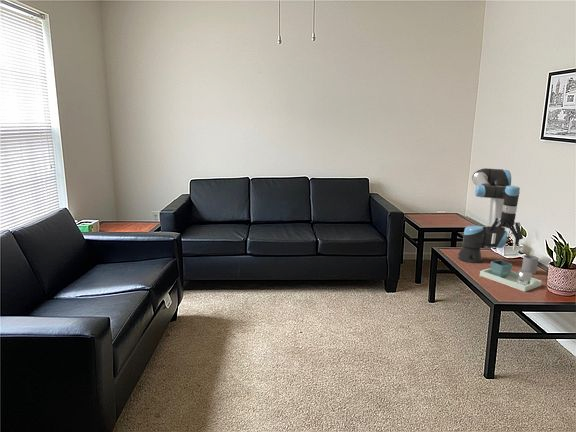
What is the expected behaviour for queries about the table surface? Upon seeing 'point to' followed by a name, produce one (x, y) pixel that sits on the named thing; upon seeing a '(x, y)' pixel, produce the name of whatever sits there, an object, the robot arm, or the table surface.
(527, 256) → the cup
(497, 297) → the table surface
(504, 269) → the flower pot
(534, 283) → the shallow serving tray
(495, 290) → the table surface
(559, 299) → the table surface
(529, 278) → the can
